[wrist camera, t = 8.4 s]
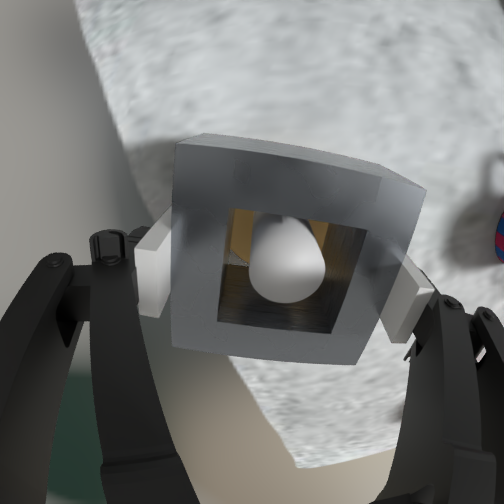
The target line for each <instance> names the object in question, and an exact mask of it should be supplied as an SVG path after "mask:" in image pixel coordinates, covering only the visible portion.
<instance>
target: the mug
mask: <svg viewBox="0 0 504 504" xmlns="http://www.w3.org/2000/svg"><path fill="white" fill-rule="evenodd" d="M495 247H496V253H497V256H498V258H499V259H500V260H501V261H502V262H503V263H504V212H503V214H502V216H501V219H500V221H499V224H498V227H497V232H496V239H495Z"/></svg>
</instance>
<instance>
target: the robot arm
mask: <svg viewBox="0 0 504 504" xmlns="http://www.w3.org/2000/svg"><path fill="white" fill-rule="evenodd" d="M171 211H172V205H171V206H170V207H169V208H168V209H167V210H166V211H165V213H164V214H163V215H162V216H161V217H160V218H159V219H158V221H157V222H156V223H155V224H154V225H153V226H152V227H144V226H141V227H140V228H137V229H135V230H133V231H132V232H131V233H130V234H129V236H127V234H126V233H125V232H123V231H120V230H111V229H109V230H103V231H99V232H97V233H95V234H93V235H92V236H91V237H90V239H89V242H90V251H91V258H92V265H79V266H78V265H77V266H76V265H75V266H73V261H72V258H71V256H70V255H68V254H66V253H53V254H52V253H51V254H49V255H48V256H46V257H44V258H43V259H41V260H40V261H39V263H38V264H37V266H36V267H35V268H34V270H33V271H32V273H31V274H30V276H29V277H28V278H27V280H26V281H25V283H24V284H23V286H22V287H21V289H20V290H19V292H18V293H17V295H16V296H15V298H14V299H13V301H12V302H11V304H10V306H9V307H8V309H7V310H6V312H5V314H4V316H3V317H2V319H1V321H0V504H45V502H46V494H47V482H48V473H49V465H50V457H51V451H52V444H53V438H54V433H55V427H56V422H57V417H58V413H59V408H60V404H61V399H62V395H63V391H64V387H65V383H66V379H67V376H68V372H69V368H70V365H71V361H72V358H73V355H74V351H75V348H76V345H77V342H78V339H79V336H80V332H81V330H82V326H83V324H84V321H90V355H91V372H92V385H93V395H94V404H95V412H96V420H97V426H98V432H99V438H100V444H101V449H102V455H103V464H102V465H101V467H100V472H101V480H102V486H103V490H104V494H105V497H106V501H107V504H200V502H199V500H198V498H197V495H196V493H195V491H194V489H193V486H192V484H191V482H190V479H189V477H188V475H187V472H186V470H185V467H184V465H183V463H182V460H181V458H180V456H179V455H178V453H177V452H176V449H175V446H174V444H173V441H172V438H171V435H170V432H169V429H168V426H167V423H166V420H165V417H164V414H163V411H162V407H161V404H160V401H159V397H158V395H157V391H156V387H155V384H154V380H153V376H152V372H151V369H150V364H149V360H148V356H147V352H146V348H145V344H144V339H143V335H142V330H141V326H140V321H139V315H138V310H137V304H139V313H140V314H141V315H146V316H151V317H156V318H159V316H160V314H161V312H162V309H163V307H164V305H165V303H166V301H167V298H168V296H169V294H170V292H171V284H170V266H171ZM380 319H381V321H382V323H383V325H384V328H385V330H386V332H387V334H388V336H389V339H390V341H391V343H407V341H408V339H409V338H410V336H411V334H412V332H413V333H414V335H415V337H416V339H415V341H414V343H413V344H412V346H411V348H410V349H409V351H408V353H407V354H406V356H405V357H404V361H406V360H407V358H408V357H411V358H410V361H409V362H410V368H409V377H408V385H407V392H406V399H405V405H404V411H403V417H402V423H401V428H400V433H399V437H398V442H397V446H396V451H395V455H394V459H393V463H392V467H391V470H390V474H389V478H388V481H387V484H386V486H385V487H384V489H383V490H382V491H381V493H380V494H379V495H378V496H377V498H376V500H375V501H373V502H371V503H369V504H504V327H503V325H502V324H501V322H500V320H499V319H498V317H497V316H496V315H495V314H494V312H493V311H492V310H490V309H489V308H485V307H478V308H477V310H476V311H475V313H474V315H470V314H467V313H465V310H464V308H463V306H462V304H461V303H460V302H459V301H457V300H456V299H455V298H453V297H451V296H448V295H441V294H440V292H439V291H438V290H437V289H436V287H435V286H434V285H433V283H431V281H430V280H429V278H427V276H426V275H425V273H424V272H423V271H422V270H421V269H419V268H418V267H417V266H416V265H415V264H414V262H413V261H412V260H411V259H410V258H409V256H408V255H407V254H406V255H405V258H404V261H403V263H402V265H401V267H400V270H399V272H398V275H397V277H396V280H395V282H394V285H393V287H392V290H391V292H390V294H389V297H388V299H387V301H386V303H385V306H384V308H383V310H382V312H381V314H380ZM484 347H485V349H486V353H485V355H484V356H483V358H482V359H481V360H480V362H479V363H478V362H477V360H476V358H477V357H478V355H479V354H480V352H481V351H482V350H483V348H484Z"/></svg>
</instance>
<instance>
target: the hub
mask: <svg viewBox="0 0 504 504" xmlns="http://www.w3.org/2000/svg"><path fill="white" fill-rule="evenodd" d="M328 224H329V223H327V222H321V221H315V220H309V219H303V218H297V217H290V216H284V215H277V214H271V213H264V212H257V211H250V210H243V209H236V208H235V214H234V222H233V230H232V238H231V246H230V248H231V250H232V251H233V252H234V253H235V254H236V255H237V256H239V257H240V258H241V259H242V260H244V261H246V262H247V263H249V277H250V281H251V284H252V285H253V287H254V289H255V290H256V291H257V292H258V293H259V294H260V295H261V296H263V297H264V298H266V299H268V300H271V301H274V302H278V303H292V302H297V301H300V300H303V299H305V298H307V297H308V296H310V295H311V294H313V293H314V292H315V291H316V290H317V289H318V287H319V286H320V285H321V283H322V281H323V278H324V275H325V263H324V259H323V256H322V254H321V251H322V247H323V243H324V240H325V236H326V232H327V228H328Z"/></svg>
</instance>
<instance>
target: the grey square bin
mask: <svg viewBox="0 0 504 504" xmlns="http://www.w3.org/2000/svg"><path fill="white" fill-rule="evenodd" d="M426 191H427V190H426V189H424V188H423V187H421V186H419V185H417V184H416V183H414V182H412V181H410V180H408V179H406V178H405V177H403V176H401V175H399V174H397V173H395V172H393V171H391V170H389V169H387V168H385V167H383V166H381V165H379V164H376V163H372V162H368V161H364V160H360V159H356V158H352V157H348V156H343V155H339V154H335V153H330V152H325V151H320V150H316V149H311V148H305V147H300V146H295V145H289V144H283V143H277V142H271V141H264V140H258V139H250V138H243V137H235V136H226V135H217V134H207V133H203V134H200V135H197V136H195V137H192V138H189V139H186V140H183V141H181V142H178V143H176V149H175V161H174V175H173V190H172V211H171V266H170V284H171V292H170V299H171V301H170V302H171V332H172V346H173V347H179V348H185V349H190V350H197V351H202V352H210V353H216V354H222V355H229V356H237V357H245V358H254V359H263V360H273V361H284V362H297V363H312V364H332V365H356V363H357V361H358V360H359V358H360V356H361V354H362V352H363V350H364V348H365V346H366V344H367V342H368V340H369V338H370V336H371V334H372V332H373V330H374V328H375V326H376V324H377V322H378V320H379V318H380V314H381V312H382V310H383V308H384V306H385V303H386V301H387V299H388V297H389V294H390V292H391V290H392V287H393V285H394V282H395V280H396V277H397V275H398V272H399V270H400V267H401V265H402V263H403V261H404V258H405V255H406V253H407V250H408V247H409V244H410V241H411V239H412V236H413V233H414V230H415V227H416V224H417V221H418V217H419V214H420V211H421V208H422V204H423V201H424V198H425V194H426ZM235 208H236V209H243V210H250V211H257V212H264V213H271V214H277V215H284V216H290V217H297V218H303V219H309V220H315V221H321V222H327V223H329V224H328V228H327V232H326V236H325V240H324V243H323V247H322V251H321V254H322V256H323V259H324V263H325V275H324V278H323V281H322V283H321V285H320V286H319V287H318V289H317V290H316V291H315V292H314V293H313V294H311V295H310V296H308V297H307V298H305V299H303V300H300V301H297V302H292V303H278V302H274V301H271V300H268V299H266V298H264V297H263V296H261V295H260V294H259V293H258V292H257V291H256V290H255V289H254V287H253V285H252V284H251V281H250V277H249V267H245V266H238V265H231V264H228V263H229V254H230V246H231V238H232V230H233V222H234V214H235Z"/></svg>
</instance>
